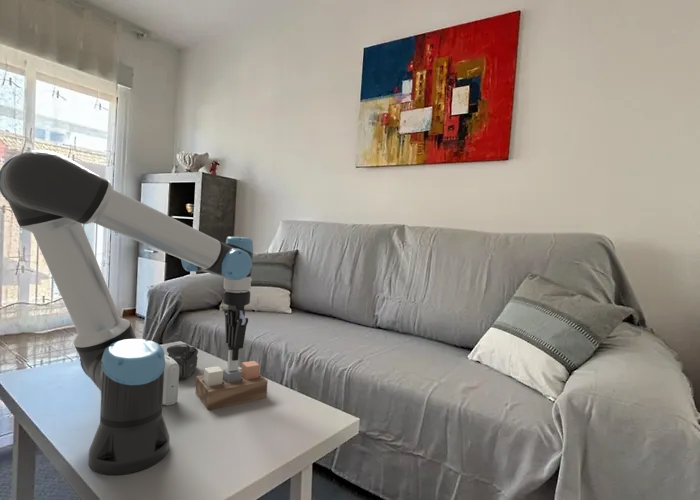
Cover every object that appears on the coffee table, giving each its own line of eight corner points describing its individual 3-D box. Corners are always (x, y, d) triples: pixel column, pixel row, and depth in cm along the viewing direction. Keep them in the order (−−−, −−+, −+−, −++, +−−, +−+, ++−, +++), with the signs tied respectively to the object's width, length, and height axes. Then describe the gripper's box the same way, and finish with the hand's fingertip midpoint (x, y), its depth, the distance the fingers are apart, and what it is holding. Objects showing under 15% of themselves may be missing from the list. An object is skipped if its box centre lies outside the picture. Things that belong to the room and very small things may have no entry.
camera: (165, 367, 134) (166, 338, 133) (196, 365, 138) (198, 337, 137) (164, 382, 122) (165, 351, 121) (198, 380, 126) (200, 349, 125)
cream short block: (222, 387, 113) (223, 370, 113) (207, 390, 110) (208, 373, 110) (217, 382, 116) (218, 366, 116) (203, 385, 114) (204, 368, 113)
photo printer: (180, 402, 110) (182, 358, 109) (165, 407, 107) (167, 362, 106) (159, 391, 116) (161, 349, 115) (144, 396, 112) (146, 353, 111)
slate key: (240, 388, 116) (241, 371, 116) (227, 391, 114) (228, 374, 114) (235, 383, 119) (236, 367, 119) (222, 386, 117) (223, 369, 117)
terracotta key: (258, 381, 119) (259, 364, 119) (245, 383, 117) (246, 366, 117) (253, 376, 123) (254, 360, 122) (240, 378, 120) (241, 362, 120)
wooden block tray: (266, 397, 117) (267, 380, 117) (207, 409, 107) (208, 391, 107) (250, 382, 127) (251, 367, 126) (195, 392, 116) (196, 376, 116)
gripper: (258, 293, 112) (253, 375, 113) (241, 286, 122) (237, 360, 124) (232, 295, 107) (227, 380, 109) (216, 286, 118) (212, 364, 119)
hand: (232, 369), depth 116 cm, fingers closed
